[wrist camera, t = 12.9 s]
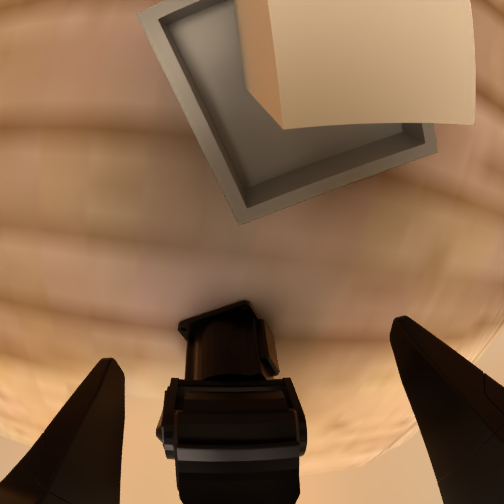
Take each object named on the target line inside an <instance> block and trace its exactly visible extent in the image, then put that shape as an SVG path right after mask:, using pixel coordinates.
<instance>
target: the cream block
mask: <svg viewBox="0 0 504 504" xmlns="http://www.w3.org/2000/svg"><path fill="white" fill-rule="evenodd" d="M233 7H234V13H235V20H236V27H237V34H238V41H239V48H240V55H241V62H242V69H243V77H244V84H245V89H246V90H247V91H248V92H249V93H250V94H251V95H252V96H253V97H254V98H255V99H256V100H257V101H258V102H259V103H260V105H261V106H262V107H263V108H264V109H265V110H266V111H267V112H268V113H269V114H270V115H271V116H272V118H273V119H274V120H275V121H276V122H277V123H278V124H279V125H280V126H281V128H282V129H283V130H284V129H294V128H304V127H316V126H330V125H346V124H367V123H445V124H466V125H474V120H475V95H476V70H475V45H474V31H473V21H472V12H471V4H470V0H234V6H233Z"/></svg>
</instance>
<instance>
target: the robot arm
mask: <svg viewBox="0 0 504 504" xmlns="http://www.w3.org/2000/svg"><path fill="white" fill-rule="evenodd" d="M243 307H246V308H243ZM182 327H185V328H182ZM178 331H179V332H180V333H181V335H182V336H183V337H184V338H185V339H186V341H187V351H186V366H185V380H183V379H179V378H171V383H170V386H168V388H167V390H166V391H165V397H164V407H163V411H162V414H161V417H160V420H159V423H158V425H157V428H156V436H157V437H158V438H159V440H160V441H161V442H162V443H163V447H164V449H165V454H166V457H167V459H175V466H176V480H177V488H178V491H179V496H180V500H181V501H182V503H183V504H295V503H296V501H297V499H298V497H299V495H300V483H299V456H303V455H304V453H305V451H306V446H307V426H306V420H305V415H304V412H303V409H302V407H301V404H300V402H299V399H298V396H297V394H296V391H295V388H294V386H293V383H292V381H291V378H283V379H274V377H273V376H277V375H278V374H279V372H280V371H279V366H278V360H277V354H276V349H275V343H274V337H273V335H272V333H271V332H270V330H269V328H268V326H267V325H266V323H265V321H264V320H263V319H259V318H258V316H257V314H256V313H255V311H254V309H253V307H252V306H251V304H250V303H249V302H248V301H242V302H239V303H236V304H233V305H230V306H227V307H225V308H222V309H219V310H216V311H213V312H210V313H207V314H204V315H201V316H198V317H195V318H192V319H189V320H186V321H183V322H180V323H179V324H178ZM390 343H391V346H392V350H393V353H394V356H395V360H396V363H397V367H398V371H399V374H400V378H401V381H402V384H403V386H404V389H405V391H406V394H407V397H408V399H409V402H410V404H411V407H412V410H413V412H414V415H415V418H416V420H417V423H418V426H419V429H420V431H421V434H422V437H423V440H424V443H425V445H426V448H427V451H428V454H429V457H430V460H431V463H432V467H433V470H434V473H435V476H436V479H437V481H438V486H439V489H440V493H441V496H442V500H443V503H444V504H504V387H503V386H502V385H500V384H499V383H497V382H496V381H495V380H493V379H492V378H491V377H489V376H488V375H487V374H485V373H484V374H483V371H481V370H480V369H479V368H477V367H476V366H475V365H473V364H472V363H471V362H469V361H468V360H467V359H465V358H464V357H463V356H461V355H460V354H459V353H457V352H456V351H455V350H453V349H452V348H451V347H449V346H448V345H447V344H445V343H444V342H443V341H441V340H440V339H438V338H437V337H436V336H434V335H433V334H432V333H430V332H429V331H427V330H426V329H425V328H423V327H422V326H420V325H419V324H418V323H416V322H415V321H414V320H412V319H411V318H409V317H408V316H400V317H396V318H395V319H394V320H393V324H392V328H391V331H390ZM124 420H125V377H124V373H123V371H122V370H121V368H120V367H119V365H118V364H117V362H116V360H115V359H114V358H102V359H101V360H100V361H99V362H98V363H97V364H96V366H95V367H94V368H93V369H92V371H91V372H90V373H89V374H88V376H87V377H86V378H85V379H84V381H83V382H82V383H81V384H80V386H79V387H78V388H77V389H76V391H75V392H74V393H73V394H72V396H71V397H70V398H69V400H68V401H67V402H66V403H65V405H64V406H63V407H62V408H61V410H60V411H59V412H58V414H57V415H56V416H55V418H54V419H53V420H52V421H51V423H50V424H49V425H48V427H47V428H46V429H45V431H44V433H42V435H41V436H40V437H39V439H38V440H37V441H36V442H35V444H34V445H33V446H32V448H31V449H30V450H29V451H28V452H27V454H26V455H25V456H24V457H23V458H22V459H21V460H20V462H19V463H18V464H17V465H16V466H15V467H14V468H13V469H12V471H11V472H10V473H9V474H8V475H7V476H6V477H5V478H4V479H3V480H2V481H1V482H0V504H120V478H121V460H122V444H123V432H124Z"/></svg>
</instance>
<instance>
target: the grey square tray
mask: <svg viewBox="0 0 504 504" xmlns="http://www.w3.org/2000/svg"><path fill="white" fill-rule="evenodd" d="M233 6H234V0H164V1H162V2H160V3H158V4H156V5H154V6H151V7H149V8H148V9H146V10H144V11H142V12H140V13H138V14H136V15H137V17H138V19H139V21H140V23H141V25H142V28H143V30H144V32H145V34H146V36H147V38H148V40H149V42H150V44H151V46H152V48H153V50H154V52H155V54H156V56H157V58H158V60H159V62H160V65H161V67H162V69H163V71H164V73H165V75H166V77H167V79H168V81H169V83H170V85H171V87H172V89H173V91H174V93H175V95H176V97H177V99H178V101H179V104H180V106H181V108H182V110H183V112H184V114H185V116H186V118H187V120H188V122H189V124H190V126H191V128H192V130H193V132H194V134H195V136H196V138H197V141H198V143H199V145H200V147H201V149H202V151H203V153H204V155H205V157H206V159H207V161H208V163H209V165H210V167H211V169H212V171H213V173H214V175H215V178H216V180H217V182H218V184H219V186H220V188H221V190H222V192H223V194H224V196H225V198H226V200H227V202H228V204H229V206H230V208H231V210H232V212H233V214H234V217H235V219H236V221H237V223H238V225H239V226H240V225H243V224H245V223H248V222H250V221H253V220H255V219H258V218H260V217H263V216H266V215H268V214H271V213H273V212H276V211H278V210H281V209H284V208H286V207H289V206H291V205H294V204H297V203H299V202H302V201H305V200H307V199H310V198H313V197H315V196H318V195H320V194H323V193H326V192H328V191H331V190H334V189H337V188H339V187H342V186H345V185H347V184H350V183H353V182H355V181H358V180H361V179H364V178H366V177H369V176H372V175H375V174H378V173H380V172H383V171H386V170H389V169H391V168H394V167H397V166H400V165H403V164H406V163H408V162H411V161H414V160H417V159H420V158H423V157H426V156H428V155H431V154H434V153H437V145H436V138H435V132H434V126H433V123H367V124H346V125H330V126H316V127H304V128H294V129H284V130H283V129H282V128H281V126H280V125H279V124H278V123H277V122H276V121H275V120H274V119H273V118H272V116H271V115H270V114H269V113H268V112H267V111H266V110H265V109H264V108H263V107H262V106H261V105H260V103H259V102H258V101H257V100H256V99H255V98H254V97H253V96H252V95H251V94H250V93H249V92H248V91H247V90H246V89H245V84H244V77H243V69H242V62H241V55H240V48H239V41H238V34H237V27H236V20H235V13H234V7H233Z"/></svg>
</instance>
